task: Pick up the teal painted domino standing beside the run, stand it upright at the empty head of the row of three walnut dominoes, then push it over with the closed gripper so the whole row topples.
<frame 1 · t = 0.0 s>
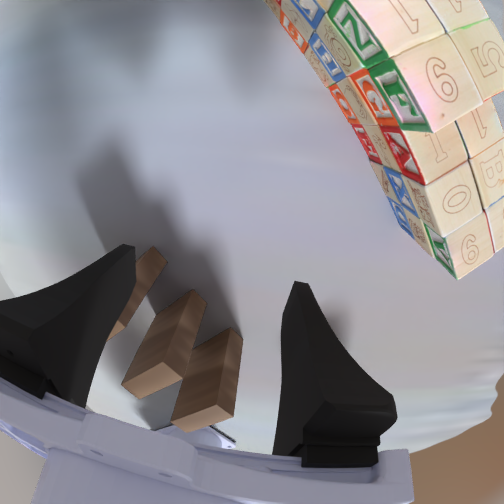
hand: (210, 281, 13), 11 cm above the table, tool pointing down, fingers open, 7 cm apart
domino 3: (180, 309, 27), on the table
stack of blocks: (370, 88, 19), on the table
domino 2: (217, 344, 28), on the table
domino 4: (141, 269, 26), on the table
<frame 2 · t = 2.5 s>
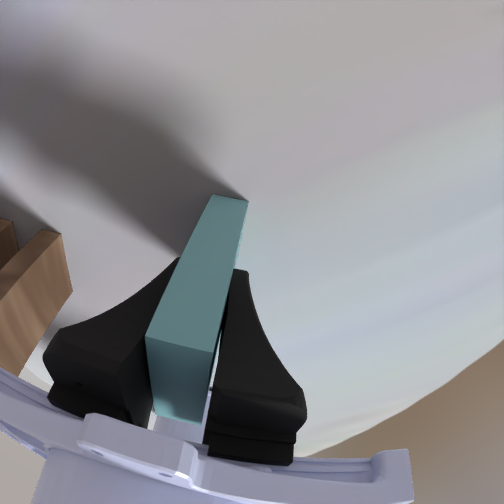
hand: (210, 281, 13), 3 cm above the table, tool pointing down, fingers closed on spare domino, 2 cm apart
domino 3: (11, 247, 18), on the table
domino 2: (57, 261, 18), on the table
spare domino: (223, 240, 16), on the table, touching gripper
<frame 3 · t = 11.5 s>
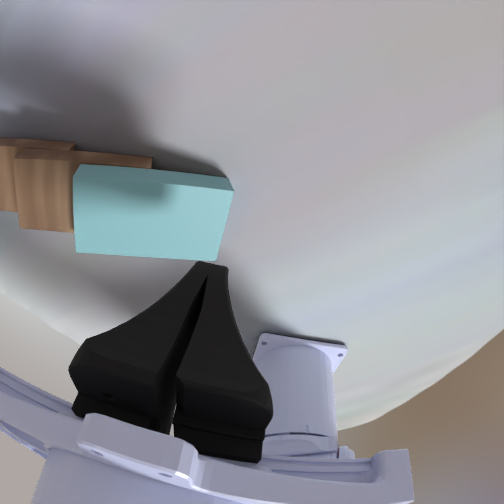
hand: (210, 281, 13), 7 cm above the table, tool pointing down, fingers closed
domino 3: (69, 180, 18), point 1 cm above the table, tilted 72°
domino 2: (146, 198, 19), point 1 cm above the table, tilted 71°, touching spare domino
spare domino: (221, 220, 19), point 1 cm above the table, tilted 70°, touching domino 2
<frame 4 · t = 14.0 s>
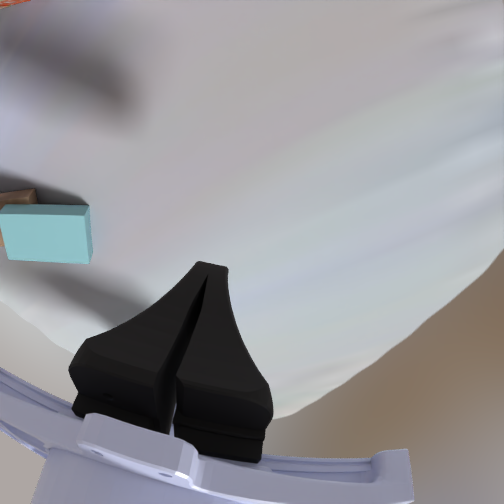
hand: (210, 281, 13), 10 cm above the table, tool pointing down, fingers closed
domino 2: (37, 216, 24), point 1 cm above the table, tilted 70°, touching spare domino
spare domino: (88, 235, 25), point 1 cm above the table, tilted 72°, touching domino 2
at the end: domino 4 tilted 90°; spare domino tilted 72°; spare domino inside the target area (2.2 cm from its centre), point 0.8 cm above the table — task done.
